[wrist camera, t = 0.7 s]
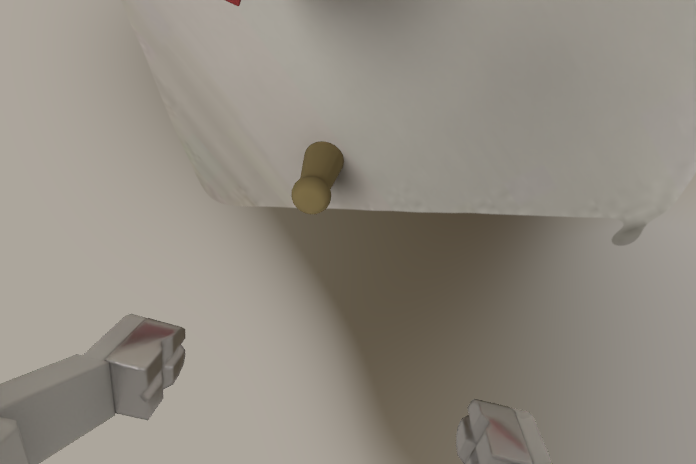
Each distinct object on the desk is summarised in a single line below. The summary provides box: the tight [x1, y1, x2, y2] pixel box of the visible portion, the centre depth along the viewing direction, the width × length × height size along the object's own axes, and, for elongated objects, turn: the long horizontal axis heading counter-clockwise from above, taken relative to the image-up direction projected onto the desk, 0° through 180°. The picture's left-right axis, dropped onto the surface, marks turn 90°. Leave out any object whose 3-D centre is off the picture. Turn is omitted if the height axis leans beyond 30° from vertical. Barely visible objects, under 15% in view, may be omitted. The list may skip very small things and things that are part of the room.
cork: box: [292, 142, 344, 214], centre depth 50 cm, size 6×6×11 cm
